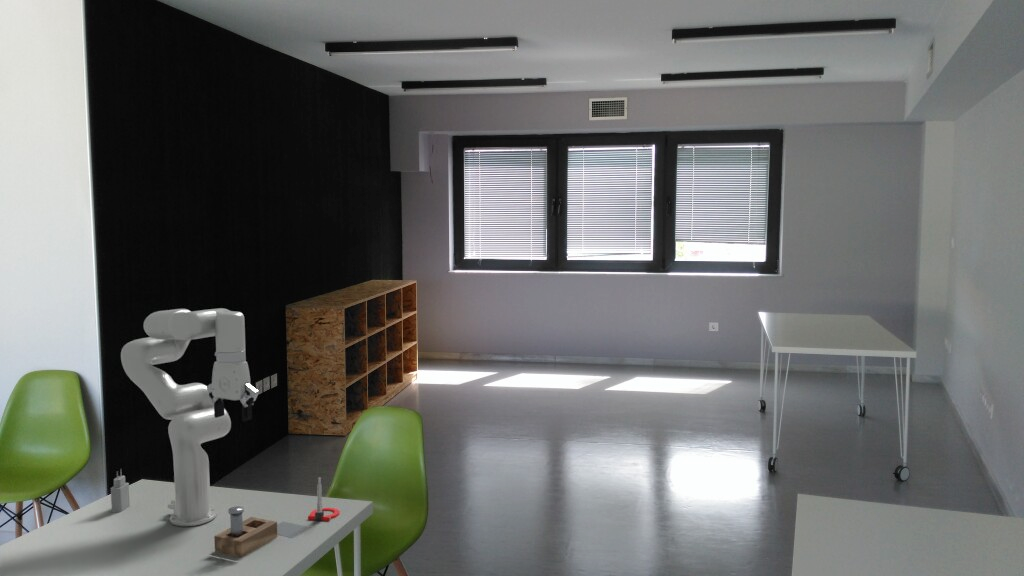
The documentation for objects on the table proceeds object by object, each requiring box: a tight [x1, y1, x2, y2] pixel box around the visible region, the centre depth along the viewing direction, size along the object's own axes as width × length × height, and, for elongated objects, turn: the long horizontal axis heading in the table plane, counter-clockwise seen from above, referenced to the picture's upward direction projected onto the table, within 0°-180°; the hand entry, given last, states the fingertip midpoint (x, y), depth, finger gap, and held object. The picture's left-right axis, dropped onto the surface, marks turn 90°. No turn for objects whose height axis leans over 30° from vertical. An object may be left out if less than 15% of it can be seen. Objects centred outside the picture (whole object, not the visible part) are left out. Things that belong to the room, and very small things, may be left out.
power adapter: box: [110, 468, 131, 513], centre depth 236 cm, size 3×5×12 cm, turn 176°
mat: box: [277, 521, 312, 539], centre depth 221 cm, size 10×8×1 cm
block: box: [214, 516, 278, 558], centre depth 211 cm, size 9×14×4 cm, turn 157°
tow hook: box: [307, 477, 340, 522], centre depth 231 cm, size 8×13×9 cm
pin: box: [228, 505, 245, 538], centre depth 208 cm, size 4×4×11 cm
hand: (233, 418), depth 215 cm, fingers open, 9 cm apart
